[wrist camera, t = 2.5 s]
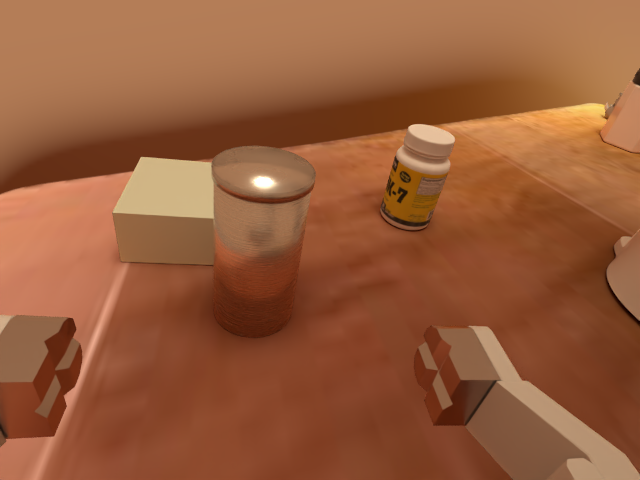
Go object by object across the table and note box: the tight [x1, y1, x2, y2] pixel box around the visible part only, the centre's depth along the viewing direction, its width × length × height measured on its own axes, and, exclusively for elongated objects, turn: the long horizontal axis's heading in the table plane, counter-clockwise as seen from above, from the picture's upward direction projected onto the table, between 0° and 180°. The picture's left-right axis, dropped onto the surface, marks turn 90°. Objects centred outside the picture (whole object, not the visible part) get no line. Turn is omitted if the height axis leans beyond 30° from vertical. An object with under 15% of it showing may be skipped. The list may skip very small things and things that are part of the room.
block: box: [112, 157, 214, 265], centre depth 30 cm, size 8×8×4 cm
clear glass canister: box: [211, 146, 316, 338], centre depth 23 cm, size 5×5×10 cm
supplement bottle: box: [380, 124, 455, 230], centre depth 36 cm, size 5×5×8 cm
